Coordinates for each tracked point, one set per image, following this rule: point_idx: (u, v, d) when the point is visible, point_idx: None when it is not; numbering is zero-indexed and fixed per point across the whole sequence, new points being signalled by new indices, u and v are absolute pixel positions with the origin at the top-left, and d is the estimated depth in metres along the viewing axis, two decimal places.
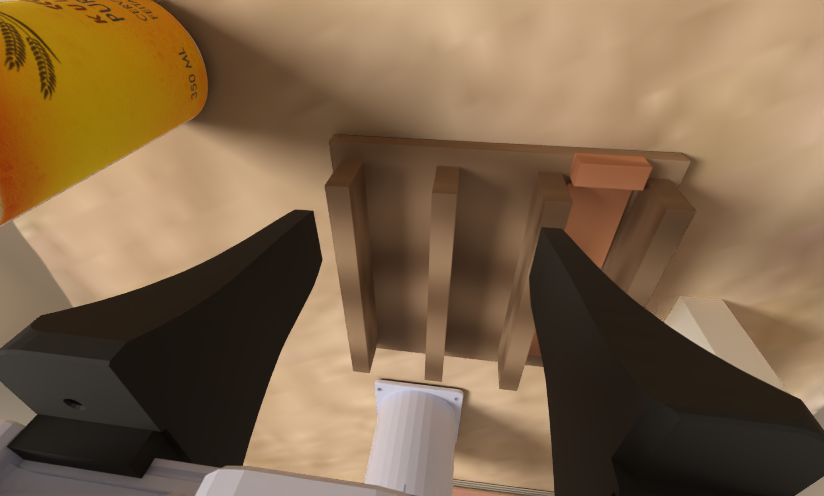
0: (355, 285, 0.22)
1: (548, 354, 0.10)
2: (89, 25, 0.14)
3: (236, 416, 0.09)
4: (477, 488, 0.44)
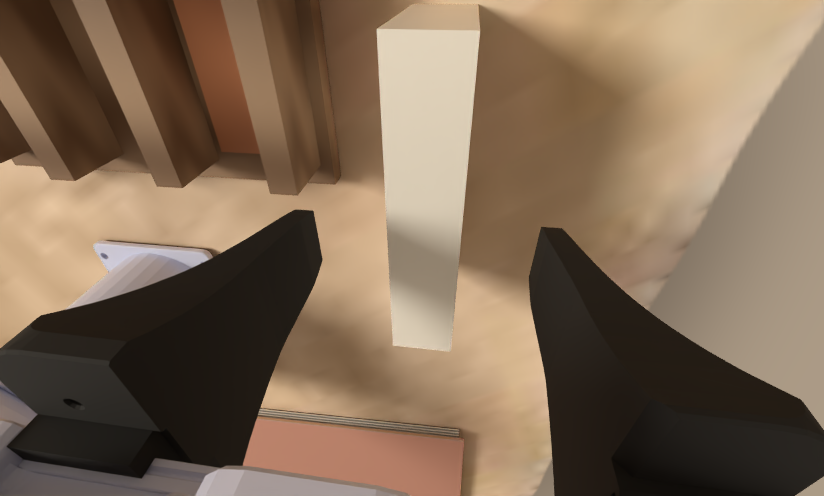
0: None
1: (548, 354, 0.10)
2: None
3: (236, 416, 0.09)
4: (306, 420, 0.34)
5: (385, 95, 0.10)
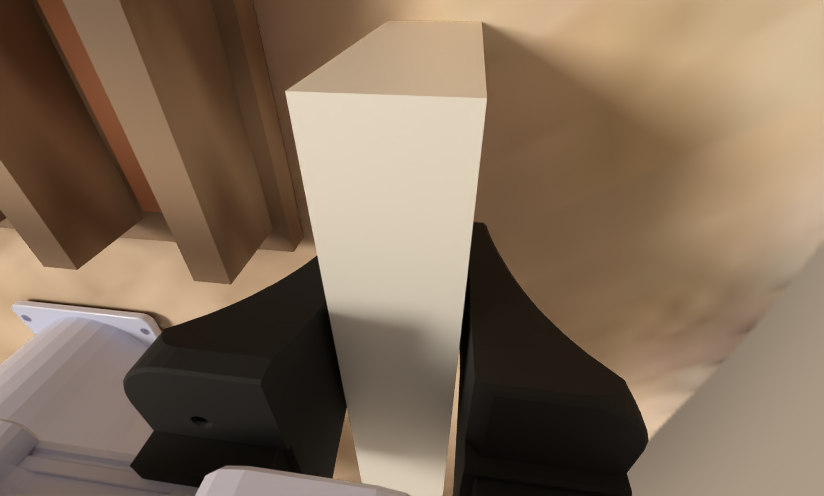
0: None
1: (461, 345, 0.10)
2: None
3: (330, 429, 0.09)
4: None
5: (315, 200, 0.06)
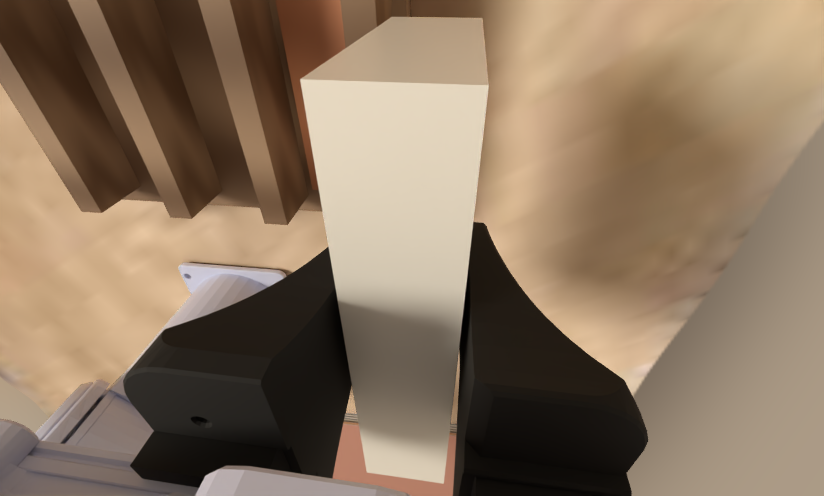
0: None
1: (461, 345, 0.10)
2: None
3: (330, 429, 0.09)
4: (355, 421, 0.37)
5: (326, 184, 0.06)
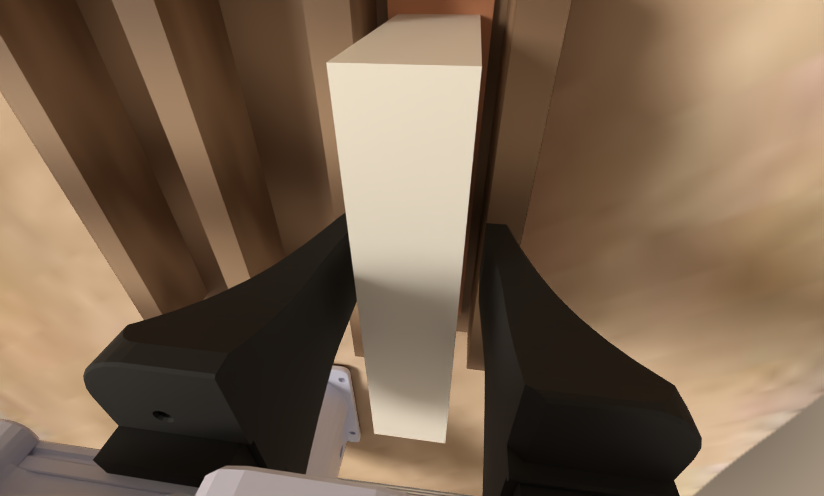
0: (76, 178, 0.14)
1: (486, 347, 0.10)
2: None
3: (302, 425, 0.09)
4: None
5: (345, 153, 0.07)
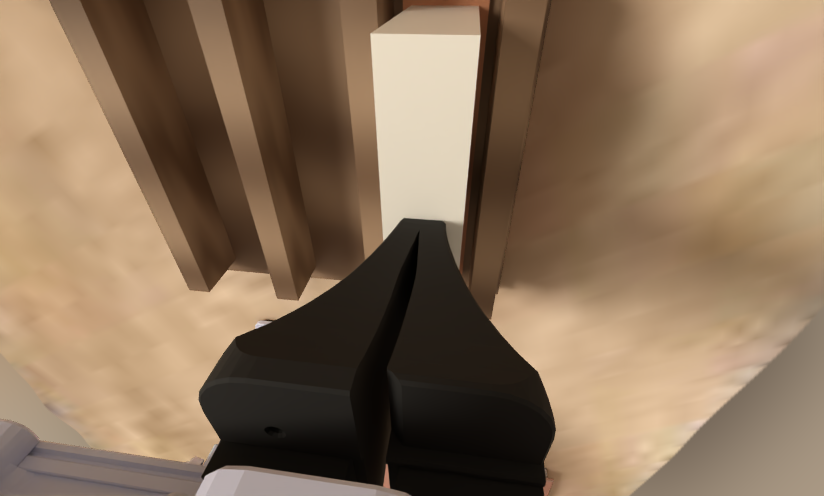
0: (138, 144, 0.16)
1: None
2: None
3: (384, 436, 0.08)
4: None
5: (380, 103, 0.10)
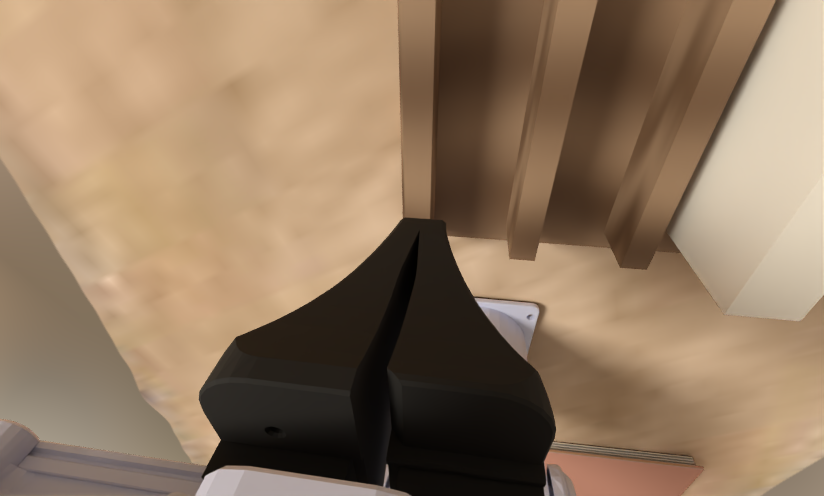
0: (426, 69, 0.14)
1: None
2: None
3: (384, 436, 0.08)
4: None
5: None
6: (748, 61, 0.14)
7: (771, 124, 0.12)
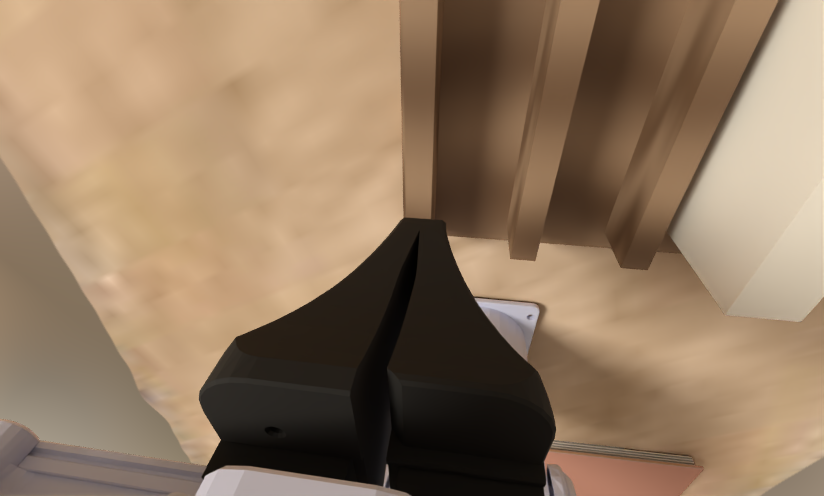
0: (428, 68, 0.14)
1: None
2: None
3: (384, 436, 0.08)
4: None
5: None
6: (750, 62, 0.14)
7: (773, 125, 0.12)
